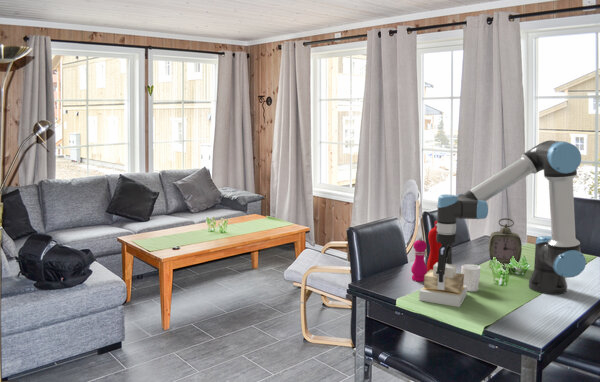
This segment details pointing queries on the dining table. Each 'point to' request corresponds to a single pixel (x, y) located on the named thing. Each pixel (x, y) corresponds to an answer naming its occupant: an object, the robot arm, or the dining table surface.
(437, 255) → the water bottle
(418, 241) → the pepper mill
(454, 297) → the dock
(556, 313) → the dining table surface
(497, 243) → the tabletop clock
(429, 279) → the pallet
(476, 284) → the white cup
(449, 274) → the white block
